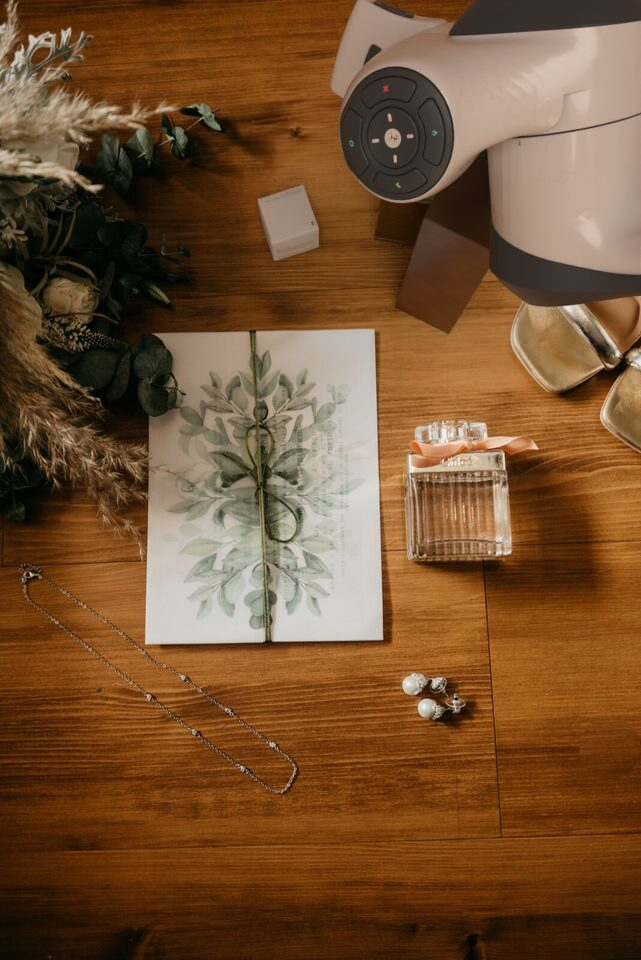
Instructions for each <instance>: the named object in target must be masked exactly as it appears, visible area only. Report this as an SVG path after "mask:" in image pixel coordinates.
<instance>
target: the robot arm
mask: <svg viewBox="0 0 641 960" xmlns="http://www.w3.org/2000/svg"><path fill="white" fill-rule="evenodd" d="M333 63H334V64H333V67H332V68H333V69H332V71H331V76H330V81H329V89H330V90H331V91H332V93H334V94H335V95H336V96H338V97H339V98H341V99H342V101H341V105H340V109H339V116H338V127H337V128H338V140H339V146H340V150H341V154H342V156H343V159H344V162H345V164H346V167H347V168H348V170H349V171H350V173H351V174H352V176H353V177H354V178H355V180H356V181H357V183H359V184H360V185H361V186H362V187H363V188H364V189H365V190H366V191H367V192H368V193H370V194H372V195H373V196H375V197H377V198H379V199H380V200H381V199H383V200H386V201H390V202H395V203H410V202H415V201H419V200H422V199H425V198H427V197H430V196H432V195H434V194H436V193H438V192H439V191H441V190H443V189H444V188H446V187H447V186H449V185H450V184H451V183H452V182H454V181H455V180H456V179H457V178H458V177H459V176H461V175H462V174H463V173H464V172H465V171H466V170H467V168H468V167H469V166H470V165H471V164H472V163H473V162H474V160H475V159H476V158H477V156H478V155H479V154H480V152H482V151H483V150H485V149H487V156H488V170H489V185H490V199H491V215H490V229H489V270H490V272H491V273H492V274H493V275H494V277H495V278H496V279H497V280H498V281H499V282H500V284H502V285H503V286H504V288H506V289H507V290H508V291H509V292H510V293H512V294H513V295H514V296H515V297H517V298H518V299H520V300H521V301H522V302H524V303H525V304H527V305H530V306H534V307H540V308H541V307H542V308H555V307H571V306H577V305H585V304H591V303H598V302H605V301H611V300H618V299H624V298H632V297H633V298H634V297H641V0H473V1H472V2H471V3H470V4H469V5H468V6H467V7H466V8H465V10H463V12H462V13H461V15H460V16H458V18H457V19H456V20H455V21H449V22H448V21H447V20H446V19H445V18H439V17H428V16H421V15H417V14H414V13H413V12H410V11H407V10H405V9H401V8H399V7H395V6H393V5H391V4H388V3H386V2H384V1H381V0H356V2H355V4H354V5H353V8H352V11H351V13H350V15H349V17H348V19H347V23H346V24H345V28H344V30H343V34H342V36H341V39H340V42H339V45H338V49H337V51H336V56H335V59H334V62H333Z"/></svg>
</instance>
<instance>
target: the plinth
mask: <svg viewBox="0 0 641 960" xmlns="http://www.w3.org/2000/svg"><path fill="white" fill-rule="evenodd" d="M490 215H491V199H490V185H489V170H488V161H486V160H484V159H482V158H479V157H477V158H476V159H475V160H474V162H473V163H472V164H471V165H470V166H469V167H468V168H467V170H466V171H465V172H464V173H463V174H462V175H461V176H459V177H458V178H457V179H456V180H455V181H454V182H452V183H451V184H450V185H449V186H447V187H446V188H444V189H443V190H441V191H439V192H438V193H436V194H435V196H434V198H433V200H432V202H431V204H430V206H429V208H428V210H427V212H426V214H425V215H424V217H423V221H422V224H421V227H420V230H419V233H418V236H417V240H416V243H415V246H413V248H412V252H411V256H410V259H409V262H408V265H407V268H406V272H405V275H404V278H403V281H402V284H401V286H400V290H399V293H398V297H397V300H396V303H395V308H396V309H397V310H399V311H400V312H402V313H405V314H407V315H409V316H412V317H413V318H414V319H417V320H419V321H421V322H423V323H425V324H427V325H429V326H431V327H433V328H435V329H437V330H439V331H441V332H443V333H445V334H447V335H449V334H450V333H451V332H452V330H453V329H454V327H455V326H456V324H457V322H458V320H459V319H460V317H461V315H462V314H463V313H464V311H465V309H466V307H467V306H468V304H469V302H470V301H471V299H472V297H473V296H474V294H476V293H475V292H476V291H477V290H478V288H479V286H480V284H481V283H482V281H483V280H484V278H485V276H486V274H488V271H489V270H490V268H489V229H490Z"/></svg>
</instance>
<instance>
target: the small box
mask: <svg viewBox="0 0 641 960" xmlns="http://www.w3.org/2000/svg"><path fill="white" fill-rule="evenodd" d="M257 206H258V211H259V217H260V218H259V219H260V222H261V225H262V229H263V231H264V235H265V239H266V242H267V244H268V247H269V251H270V254H271V256H272V261H274V262H277V261H281V260H284V259H286V258H287V259H288V258H290V257H293V256H297V255H299V254H303V253H305V252H308V251H312V250H314V249H317V248H320V227H319V224H318V222H317V221H318V220H317V219H316V216H315V213H314V210H313V207H312V205H311V202H310V200H309V197H308V193H307V191H306V188H305V185H304V184H301V185H297V186H294V187H291V188H288V189H285V190H281V191H279V192H276V193H273V194H270V195H267V196H266V195H265V196H263V197H260V198H257Z"/></svg>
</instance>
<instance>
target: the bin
mask: <svg viewBox="0 0 641 960" xmlns="http://www.w3.org/2000/svg"><path fill="white" fill-rule="evenodd" d="M477 157H479V158H482V159H484V160H486V161H488V156H487V149H485V150H483V151H482V152H480V154H479V155H478V156H477ZM434 196H435V194H434V195H432V196H430V197H427V198H425V199H422V200H419V201H415V202H410V203H395V202H390V201H386V200H383V199H381V198H380V203H379V209H378V215H377V219H376V227H375V232H374V238H373V239H374V240H376V241H380V242H387V243H394V244H400V245H405V246H411V247H414V246H415V243H416V240H417V236H418V233H419V230H420V227H421V224H422V221H423V217H424V215H425V214H426V212H427V210H428V208H429V206H430V204H431V202H432V200H433V198H434Z"/></svg>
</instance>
